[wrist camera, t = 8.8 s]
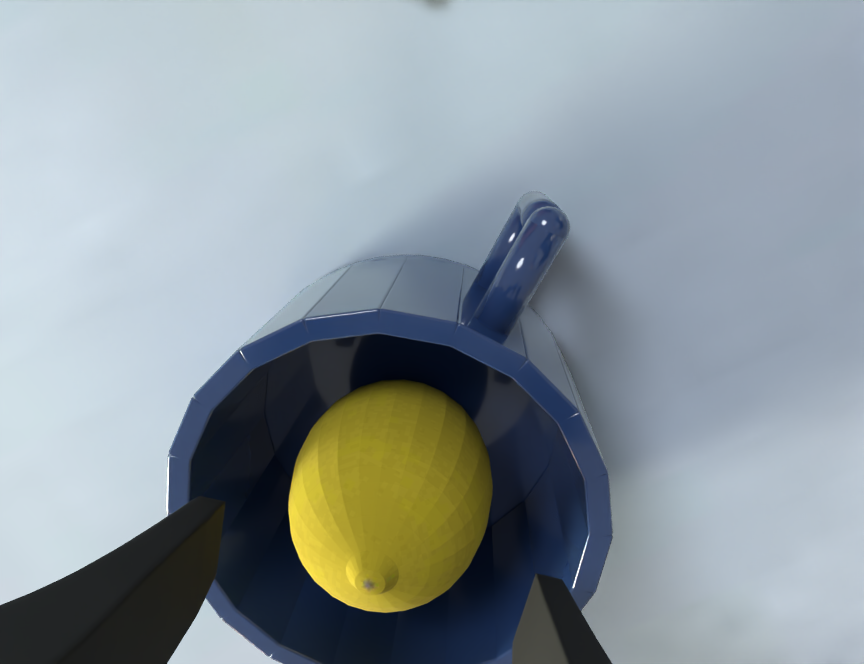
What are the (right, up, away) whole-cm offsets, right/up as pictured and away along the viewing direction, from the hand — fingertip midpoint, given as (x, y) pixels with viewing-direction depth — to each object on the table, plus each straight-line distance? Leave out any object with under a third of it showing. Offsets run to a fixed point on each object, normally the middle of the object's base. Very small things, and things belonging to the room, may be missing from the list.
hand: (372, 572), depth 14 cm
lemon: (+1, +2, +7) cm, 8 cm away
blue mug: (+1, +4, +7) cm, 8 cm away
